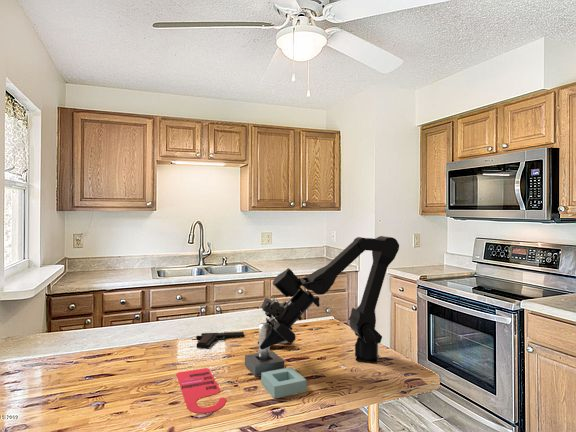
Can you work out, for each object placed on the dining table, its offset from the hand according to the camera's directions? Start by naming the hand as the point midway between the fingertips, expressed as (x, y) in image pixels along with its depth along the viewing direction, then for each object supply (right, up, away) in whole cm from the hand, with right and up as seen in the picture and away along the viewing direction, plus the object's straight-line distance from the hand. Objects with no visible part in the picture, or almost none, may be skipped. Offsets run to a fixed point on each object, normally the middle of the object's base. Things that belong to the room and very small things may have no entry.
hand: (259, 346), depth 113 cm
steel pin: (+1, -7, 0) cm, 7 cm away
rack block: (+7, -7, -12) cm, 15 cm away
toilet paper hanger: (+4, -7, +27) cm, 28 cm away
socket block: (+1, -7, 0) cm, 7 cm away
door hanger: (-15, -7, -13) cm, 21 cm away
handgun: (-15, -7, +23) cm, 28 cm away
